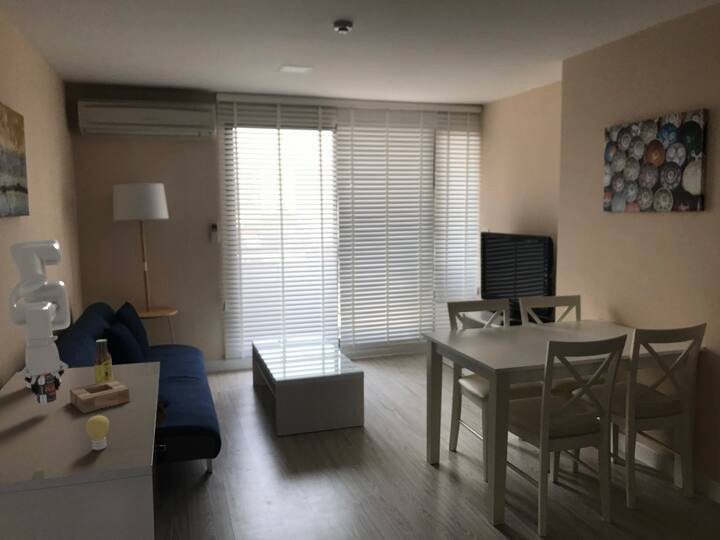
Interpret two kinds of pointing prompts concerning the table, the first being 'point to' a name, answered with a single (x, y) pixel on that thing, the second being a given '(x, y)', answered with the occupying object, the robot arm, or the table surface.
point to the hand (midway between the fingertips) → (46, 391)
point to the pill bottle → (45, 388)
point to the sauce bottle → (102, 363)
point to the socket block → (99, 395)
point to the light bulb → (97, 431)
